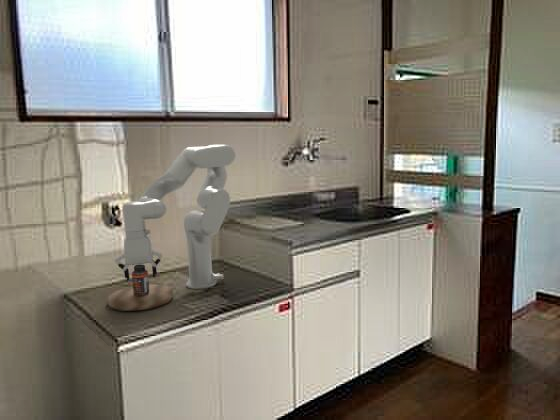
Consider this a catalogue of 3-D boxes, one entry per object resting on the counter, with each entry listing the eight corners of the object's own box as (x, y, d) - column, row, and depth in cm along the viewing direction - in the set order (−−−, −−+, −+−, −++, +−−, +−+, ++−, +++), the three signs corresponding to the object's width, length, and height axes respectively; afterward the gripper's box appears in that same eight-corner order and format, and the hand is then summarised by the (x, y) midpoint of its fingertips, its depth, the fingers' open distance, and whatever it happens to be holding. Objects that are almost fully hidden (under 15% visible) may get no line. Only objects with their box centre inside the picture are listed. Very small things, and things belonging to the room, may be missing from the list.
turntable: (172, 286, 194) (171, 271, 193) (173, 306, 171) (172, 289, 170) (111, 292, 189) (110, 277, 188) (104, 314, 166) (103, 297, 165)
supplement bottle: (130, 296, 177) (127, 267, 176) (138, 291, 183) (135, 263, 181) (145, 297, 176) (142, 268, 174) (152, 291, 182) (149, 263, 180)
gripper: (159, 229, 182) (164, 272, 185) (113, 234, 178) (118, 277, 181) (159, 233, 174) (164, 277, 177) (111, 239, 170) (116, 283, 173)
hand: (141, 277), depth 179 cm, fingers open, 9 cm apart
